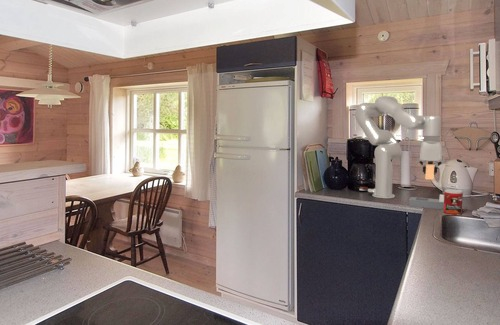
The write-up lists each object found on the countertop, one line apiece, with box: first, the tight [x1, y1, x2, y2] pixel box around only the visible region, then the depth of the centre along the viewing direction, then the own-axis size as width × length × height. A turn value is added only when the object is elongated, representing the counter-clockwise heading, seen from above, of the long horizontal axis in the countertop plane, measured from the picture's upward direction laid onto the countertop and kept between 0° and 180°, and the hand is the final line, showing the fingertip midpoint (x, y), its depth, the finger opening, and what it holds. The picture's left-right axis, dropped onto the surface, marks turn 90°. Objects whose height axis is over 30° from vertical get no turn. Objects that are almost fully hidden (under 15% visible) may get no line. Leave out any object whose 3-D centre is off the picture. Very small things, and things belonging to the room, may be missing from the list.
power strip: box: [408, 193, 444, 211], centre depth 178 cm, size 20×8×6 cm, turn 59°
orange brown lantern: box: [424, 161, 435, 181], centre depth 181 cm, size 4×4×10 cm
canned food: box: [443, 188, 464, 216], centre depth 165 cm, size 8×8×11 cm
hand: (429, 173), depth 180 cm, fingers closed on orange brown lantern, 4 cm apart
